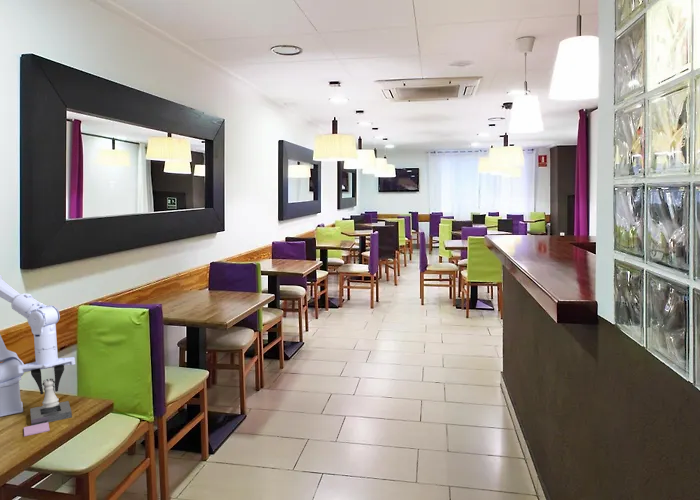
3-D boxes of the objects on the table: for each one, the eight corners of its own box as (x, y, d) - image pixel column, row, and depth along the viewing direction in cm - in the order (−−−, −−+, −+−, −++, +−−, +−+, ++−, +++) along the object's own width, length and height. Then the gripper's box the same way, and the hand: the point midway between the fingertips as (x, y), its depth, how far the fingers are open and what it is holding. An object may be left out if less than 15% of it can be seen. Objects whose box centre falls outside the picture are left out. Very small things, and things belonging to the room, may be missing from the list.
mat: (23, 428, 144) (23, 427, 144) (48, 423, 148) (48, 422, 148) (24, 436, 140) (24, 435, 139) (49, 430, 143) (49, 429, 143)
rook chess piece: (51, 409, 150) (48, 382, 150) (38, 408, 151) (35, 382, 151) (63, 403, 155) (60, 377, 154) (50, 403, 156) (47, 377, 155)
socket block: (30, 414, 155) (30, 408, 155) (68, 406, 160) (68, 400, 160) (31, 425, 146) (31, 419, 146) (71, 417, 152) (71, 411, 152)
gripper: (17, 354, 144) (20, 401, 145) (74, 346, 152) (77, 390, 153) (16, 349, 150) (20, 394, 151) (72, 341, 158) (75, 384, 159)
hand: (49, 391), depth 153 cm, fingers closed on rook chess piece, 3 cm apart
